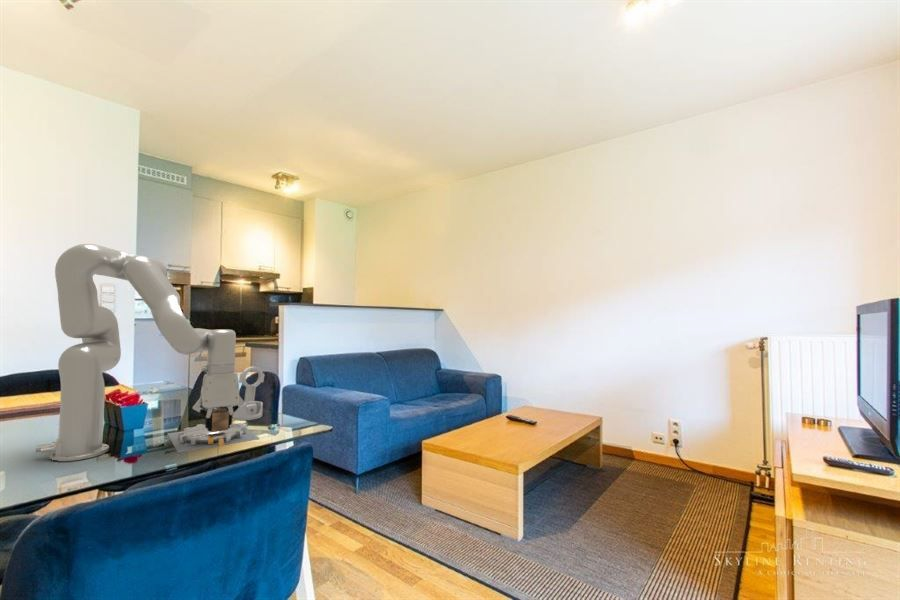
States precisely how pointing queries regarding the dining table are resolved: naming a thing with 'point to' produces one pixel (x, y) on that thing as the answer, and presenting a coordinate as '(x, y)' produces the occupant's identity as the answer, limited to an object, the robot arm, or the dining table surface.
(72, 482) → the dining table surface
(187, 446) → the base plate
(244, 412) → the engine component
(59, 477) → the dining table surface
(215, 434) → the sprocket
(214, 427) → the link block
